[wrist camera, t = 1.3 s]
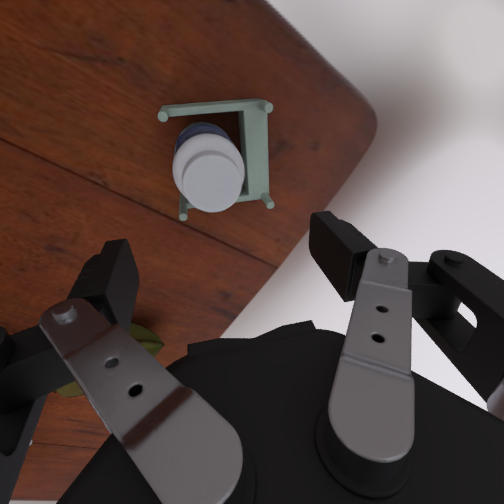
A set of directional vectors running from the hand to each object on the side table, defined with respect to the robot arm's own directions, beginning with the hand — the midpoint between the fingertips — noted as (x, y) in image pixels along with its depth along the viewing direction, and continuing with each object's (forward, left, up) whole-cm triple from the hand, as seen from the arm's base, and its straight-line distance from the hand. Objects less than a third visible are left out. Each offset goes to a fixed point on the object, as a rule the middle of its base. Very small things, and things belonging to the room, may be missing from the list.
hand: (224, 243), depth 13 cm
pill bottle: (0, 0, -18) cm, 18 cm away
